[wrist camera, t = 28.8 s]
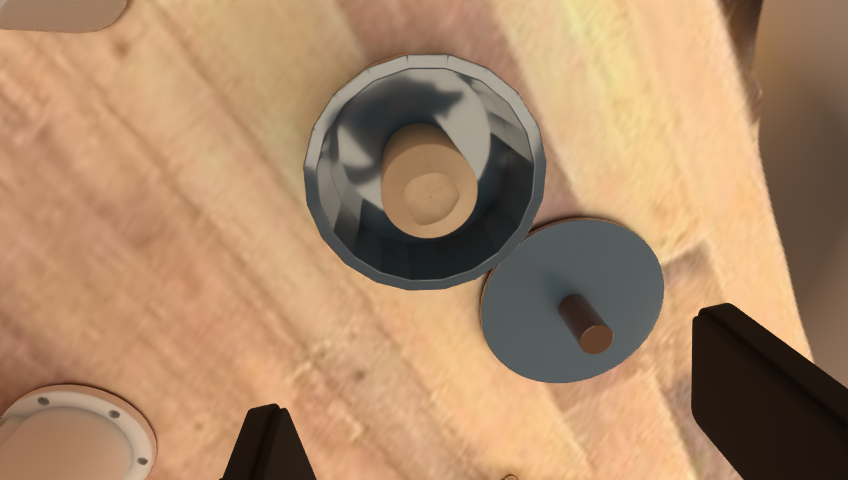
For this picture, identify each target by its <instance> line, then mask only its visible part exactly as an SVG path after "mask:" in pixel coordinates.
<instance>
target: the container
mask: <svg viewBox="0 0 848 480" xmlns="http://www.w3.org/2000/svg"><path fill="white" fill-rule="evenodd" d="M504 480H517V479H516V478H515V477H514V476H509V477H507V478H506V479H504Z"/></svg>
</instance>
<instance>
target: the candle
mask: <svg viewBox="0 0 848 480" xmlns="http://www.w3.org/2000/svg"><path fill="white" fill-rule="evenodd" d="M477 190H478V188H477V180H476V176H475V174H474V171H473V169H472V167H471V166H470V164H469V163H468V161H467V160H466V159H465V157H464V156H463V155H462V153H461V152H460V151H459V149H458V148H457V146H456V145H455V144H454V142H453V141H452V140H451V138H450V137H449V136H448V135H447V134H446V133H445V132H444V131H442V130H441V129H440V128H438V127H436V126H433V125H430V124H426V123H414V124H410V125H407V126H404V127H402V128H400V129H399V130H397V131H396V132H395V133H394V134H393V135H392V136H391V137H390V138H389V140H388V141H387V143H386V145H385V147H384V150H383V154H382V165H381V201H382V205H383V208H384V210H385V213H386V215H387V216H388V218H389V219H390V220H391V222H392V223H393V224H394V225H395V226H396V227H398V228H399V229H400V230H402V231H403V232H405V233H407V234H409V235H412V236H415V237H420V238H435V237H440V236H444V235H446V234H449V233H451V232H453V231H454V230H456V229H457V228H459V227H460V226H461V225H462V224H463V223H464V222H465V221H466V220H467V219H468V217H469V216H470V214H471V213H472V211H473V209H474V206H475V203H476V200H477Z"/></svg>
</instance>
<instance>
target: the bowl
mask: <svg viewBox="0 0 848 480" xmlns="http://www.w3.org/2000/svg"><path fill="white" fill-rule="evenodd" d="M414 123H426V124H430V125H433V126H436V127H438V128H440V129H441V130H442V131H444V132H445V133H446V134H447V135H448V136H449V137H450V138H451V140H452V141H453V142H454V144H455V145H456V146H457V148H458V149H459V151H460V152H461V153H462V155H463V156H464V157H465V159H466V160H467V161H468V163H469V164H470V166H471V167H472V169H473V171H474V174H475V176H476V180H477V188H478V190H477V200H476V203H475V206H474V209H473V211H472V213H471V214H470V216H469V217H468V219H467V220H466V221H465V222H464V223H463V224H462V225H461V226H460V227H459V228H457V229H456V230H454V231H453V232H451V233H449V234H446V235H444V236H440V237H435V238H420V237H415V236H412V235H409V234H407V233H405V232H403V231H402V230H400V229H399V228H398V227H396V226H395V225H394V224H393V223H392V222H391V220H390V219H389V218H388V216H387V215H386V213H385V210H384V208H383V205H382V201H381V165H382V154H383V150H384V147H385V145H386V143H387V141H388V140H389V138H390V137H391V136H392V135H393V134H394V133H395V132H396V131H397V130H399V129H400V128H402V127H404V126H407V125H410V124H414ZM303 170H304V180H305V191H306V201H307V206H308V208H309V210H310V212H311V215H312V217H313V219H314V221H315V224H316V226H317V228H318V230H319V233H320V235H321V237H322V238H323V240H324V241H325V242H326V243H327V244H328V245H329V246H330V247H331V249H332V250H333V251H334V252H335V253H336V254H337V255H338V256H339V257H340V259H341V260H342V261H343V262H344V263H345V264H346V265H348V266H350V267H351V268H353V269H355V270H356V271H358V272H360V273H361V274H363V275H365V276H366V277H368V278H370V279H371V280H373V281H375V282H377V283H381V284H385V285H389V286H393V287H397V288H401V289H405V290H438V289H447V288H450V287H453V286H456V285H459V284H462V283H465V282H468V281H471V280H475V279H477V278H479V277H480V276H482V275H483V274H485V273H486V272H488V271H489V270H491V269H492V268H494V267H495V266H497V265H498V264H500V263H501V262H503V261H504V260H505V259H507V258H508V257H509V255H510V254H511V253H512V252H513V251H514V249H515V248H516V247H517V246H518V245H519V243H520V242H521V241H522V240H523V239H524V238H525V236H526V235H527V234H528V233H529V230H530V228H531V226H532V223H533V221H534V219H535V216H536V214H537V212H538V209H539V207H540V205H541V202H542V200H543V199H542V198H543V193H544V183H545V173H546V157H545V152H544V148H543V143H542V139H541V134H540V130H539V126H538V124H537V122H536V121H535V119H534V117H533V116H532V114H531V113H530V111H529V109H528V108H527V106H526V104H525V103H524V101H523V99H522V98H521V96H520V95H519V93H518V92H517V91H516V90H514V89H513V88H512V87H511V86H509V85H508V84H507V83H506V82H505V81H503V80H502V79H501V78H500V77H498V76H497V75H496V74H495V73H493V72H492V71H491V70H490V69H489V68H486V67H484V66H482V65H479V64H476V63H473V62H470V61H468V60H465V59H462V58H459V57H456V56H453V55H451V54H443V53H401V54H398V55H396V56H393V57H390V58H387V59H384V60H381V61H378V62H376V63H373V64H371V65H369V66H368V67H366V68H365V69H364V70H362V71H361V72H360V73H359V74H357V75H356V76H355V77H354V78H352V79H351V80H350V81H349V82H347V83H346V84H345V85H344V86H342V87H341V88H340V89H339V90H338V91H337V92H335V94H334V95H333V96H332V98H331V99H330V101H329V102H328V104H327V106H326V107H325V109H324V110H323V112H322V113H321V115H320V117H319V118H318V120H317V121H316V123H315V124H314V126H313V129H312V131H311V135H310V140H309V144H308V148H307V152H306V156H305V161H304V167H303Z"/></svg>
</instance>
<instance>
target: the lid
mask: <svg viewBox="0 0 848 480" xmlns="http://www.w3.org/2000/svg"><path fill="white" fill-rule="evenodd" d="M663 298H664V280H663V274H662V270H661V266H660V264H659V262H658V259H657V257H656V255H655V254H654V252H653V251H652V249H651V248H650V247H649V246H648V244H647V243H646V242H645V241H644V240H643V239H642V238H640V237H639V236H638V235H637V234H635V233H634V232H633V231H631V230H629V229H628V228H626V227H624V226H622V225H620V224H617V223H615V222H612V221H608V220H604V219H598V218H572V219H566V220H561V221H557V222H554V223H550V224H548V225H545V226H543V227H540V228H538V229H536V230H534V231H532V232H531V233H529V234H527V235H526V236H525V238H524V239H523V240H522V241H521V242H520V243H519V245H518V246H517V247H516V248H515V249H514V251H513V252H512V253H511V254H510V255H509V257H508V258H507V259H505V260H504V261H503V262H501V263H500V264H498V265H497V266H495V267H494V268H493V269H492V271H491V273H490V275H489V277H488V279H487V281H486V283H485V286H484V289H483V292H482V297H481V302H480V320H481V326H482V330H483V333H484V336H485V339H486V341H487V343H488V346H489V347H490V349H491V350H492V352H493V353H494V355H495V356H496V357H497V358H498V359H499V360H500V362H501V363H503V364H504V365H505V366H506V367H507V368H509V369H510V370H512V371H514V372H515V373H517V374H519V375H521V376H523V377H526V378H529V379H532V380H535V381H540V382H546V383H570V382H576V381H581V380H585V379H589V378H592V377H595V376H597V375H600V374H602V373H604V372H606V371H608V370H610V369H612V368H614V367H615V366H617V365H618V364H620V363H622V362H623V361H624V360H625V359H627V358H628V357H629V356H631V355H632V354H633V353H634V352H635V351H636V350H637V349H638V348H639V347H640V346H641V344H642V343H643V342H644V341H645V340H646V338H647V337H648V335H649V334H650V332H651V331H652V329H653V327H654V325H655V323H656V321H657V319H658V317H659V314H660V311H661V308H662V303H663Z"/></svg>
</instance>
